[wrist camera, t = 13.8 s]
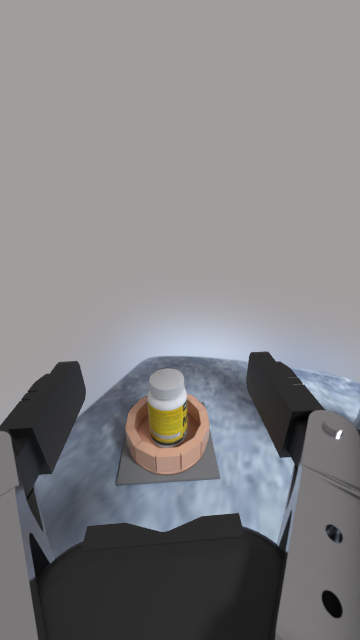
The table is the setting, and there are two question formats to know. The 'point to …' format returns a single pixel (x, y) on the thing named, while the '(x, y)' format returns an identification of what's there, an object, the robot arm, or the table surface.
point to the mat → (137, 475)
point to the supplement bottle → (167, 408)
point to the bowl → (167, 458)
